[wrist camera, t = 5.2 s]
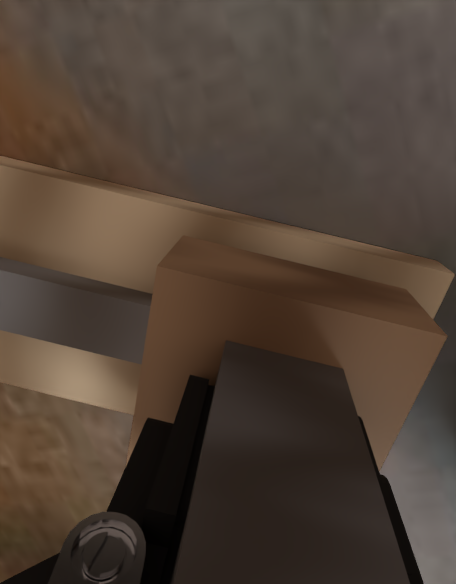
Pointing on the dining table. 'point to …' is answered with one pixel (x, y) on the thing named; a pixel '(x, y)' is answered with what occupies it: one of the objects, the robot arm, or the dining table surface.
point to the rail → (131, 274)
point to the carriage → (284, 412)
